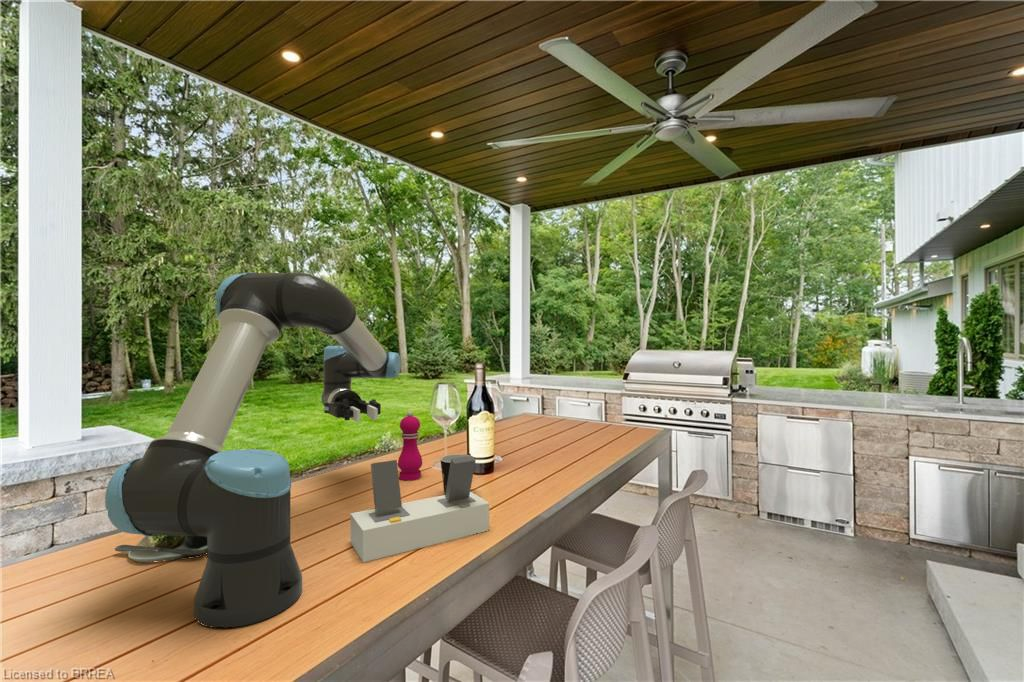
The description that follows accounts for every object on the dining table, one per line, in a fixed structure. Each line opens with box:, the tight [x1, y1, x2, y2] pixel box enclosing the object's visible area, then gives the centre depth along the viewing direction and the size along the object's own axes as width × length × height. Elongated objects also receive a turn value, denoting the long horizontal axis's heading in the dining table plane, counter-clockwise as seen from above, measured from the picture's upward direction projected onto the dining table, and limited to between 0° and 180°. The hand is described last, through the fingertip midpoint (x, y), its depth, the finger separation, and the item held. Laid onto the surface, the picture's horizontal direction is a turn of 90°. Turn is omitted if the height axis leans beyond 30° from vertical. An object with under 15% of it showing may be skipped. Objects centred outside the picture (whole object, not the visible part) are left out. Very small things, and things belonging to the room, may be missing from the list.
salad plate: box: [114, 535, 207, 563], centre depth 94 cm, size 19×18×5 cm
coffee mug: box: [440, 453, 470, 495], centre depth 125 cm, size 12×9×10 cm
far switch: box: [445, 455, 476, 502], centre depth 101 cm, size 5×2×10 cm, turn 122°
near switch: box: [370, 459, 403, 512], centre depth 96 cm, size 5×2×10 cm, turn 122°
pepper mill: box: [397, 410, 423, 481], centre depth 140 cm, size 7×7×20 cm
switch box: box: [350, 490, 490, 563], centre depth 99 cm, size 27×10×6 cm, turn 122°
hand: (367, 415), depth 109 cm, fingers open, 3 cm apart
